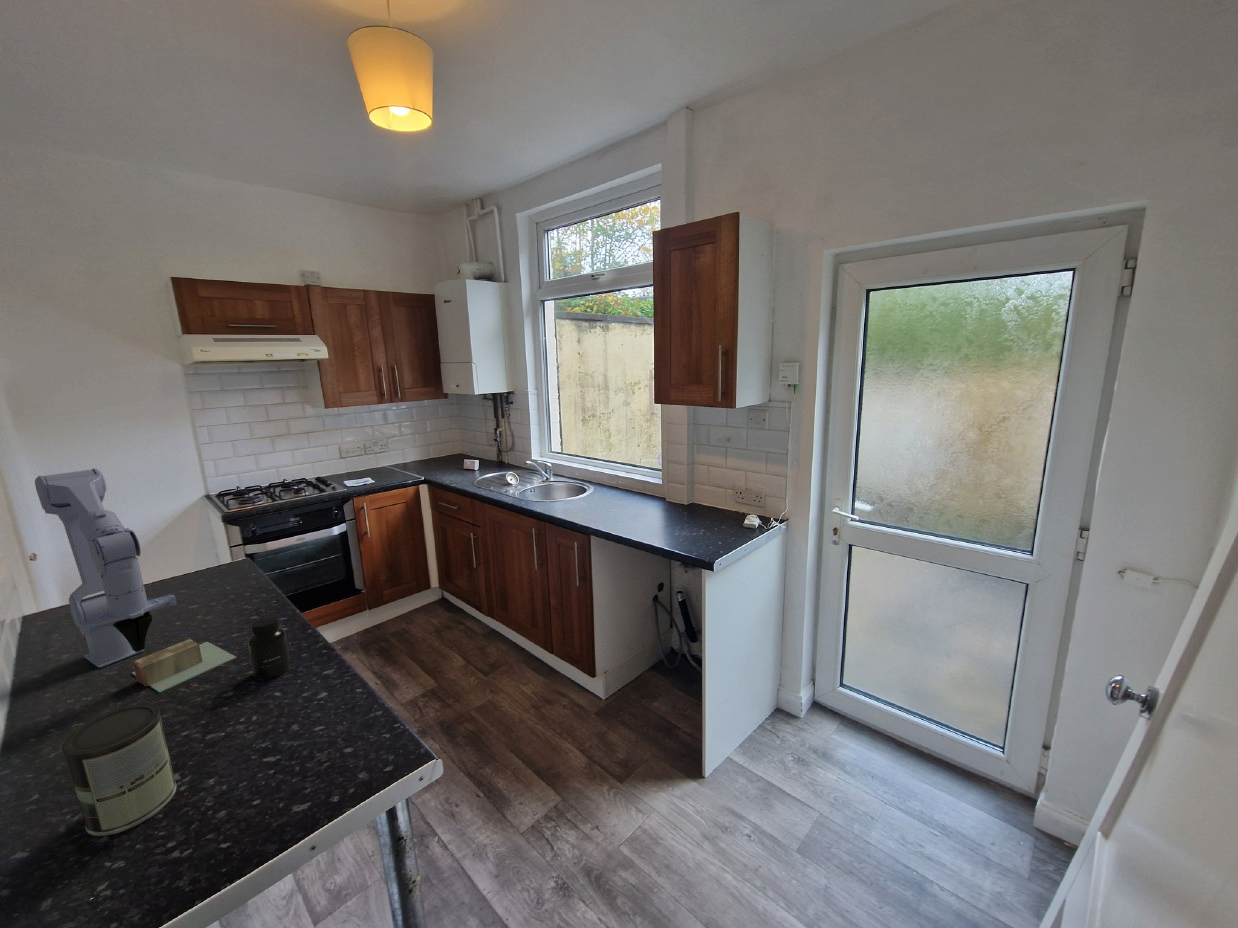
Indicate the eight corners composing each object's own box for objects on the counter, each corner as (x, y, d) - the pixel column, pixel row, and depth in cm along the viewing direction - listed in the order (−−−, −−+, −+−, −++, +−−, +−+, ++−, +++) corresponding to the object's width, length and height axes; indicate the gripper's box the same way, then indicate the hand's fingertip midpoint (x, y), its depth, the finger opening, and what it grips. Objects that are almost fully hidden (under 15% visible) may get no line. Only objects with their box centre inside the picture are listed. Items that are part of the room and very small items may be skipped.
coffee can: (63, 840, 71) (38, 755, 68) (126, 781, 81) (107, 705, 78) (140, 833, 72) (119, 750, 69) (193, 775, 82) (177, 700, 79)
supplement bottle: (272, 682, 106) (263, 631, 104) (245, 678, 107) (236, 628, 105) (298, 663, 113) (290, 615, 110) (273, 660, 114) (264, 612, 112)
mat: (132, 673, 110) (131, 672, 110) (207, 642, 122) (207, 641, 122) (159, 692, 103) (159, 691, 103) (236, 657, 115) (236, 656, 115)
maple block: (132, 661, 106) (189, 638, 115) (136, 680, 107) (193, 656, 115) (141, 667, 104) (198, 643, 112) (145, 686, 105) (202, 661, 113)
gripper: (82, 609, 94) (98, 673, 97) (177, 580, 107) (189, 637, 109) (69, 601, 97) (85, 663, 100) (162, 573, 110) (174, 629, 113)
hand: (138, 649), depth 105 cm, fingers closed
